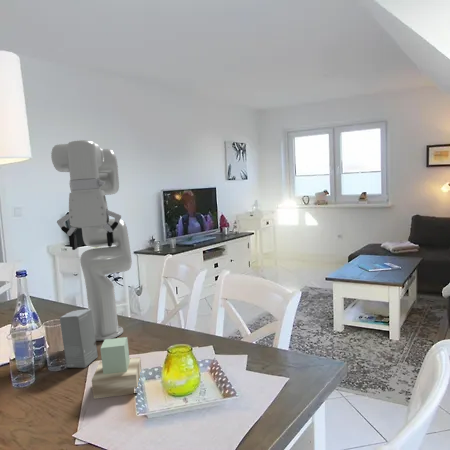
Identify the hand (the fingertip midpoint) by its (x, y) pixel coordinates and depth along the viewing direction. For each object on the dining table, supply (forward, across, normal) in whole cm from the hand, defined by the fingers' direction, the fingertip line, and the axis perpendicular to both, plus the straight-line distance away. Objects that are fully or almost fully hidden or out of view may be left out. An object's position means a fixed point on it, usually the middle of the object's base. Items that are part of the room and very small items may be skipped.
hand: (92, 247), depth 118 cm
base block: (+36, -5, +10) cm, 38 cm away
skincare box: (+36, +9, -9) cm, 39 cm away
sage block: (+31, -5, +10) cm, 33 cm away
